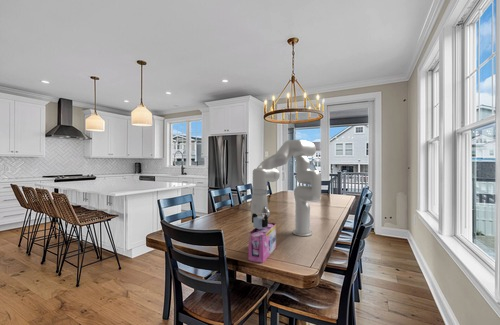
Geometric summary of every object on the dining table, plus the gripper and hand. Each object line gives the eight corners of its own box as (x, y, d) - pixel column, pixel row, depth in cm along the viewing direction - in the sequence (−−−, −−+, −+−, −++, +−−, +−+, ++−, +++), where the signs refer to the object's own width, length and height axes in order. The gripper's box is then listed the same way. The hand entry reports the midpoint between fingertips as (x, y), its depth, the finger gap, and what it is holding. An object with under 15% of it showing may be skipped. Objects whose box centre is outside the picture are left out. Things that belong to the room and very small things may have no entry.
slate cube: (253, 226, 126) (253, 217, 126) (261, 225, 129) (261, 216, 129) (258, 229, 122) (258, 219, 122) (266, 227, 125) (266, 218, 125)
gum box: (262, 264, 112) (262, 235, 112) (246, 261, 115) (246, 233, 115) (276, 247, 134) (276, 223, 134) (263, 245, 137) (263, 221, 137)
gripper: (245, 190, 131) (245, 221, 131) (262, 194, 116) (262, 230, 116) (256, 189, 135) (256, 220, 135) (275, 193, 120) (275, 227, 120)
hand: (259, 224), depth 126 cm, fingers open, 9 cm apart
